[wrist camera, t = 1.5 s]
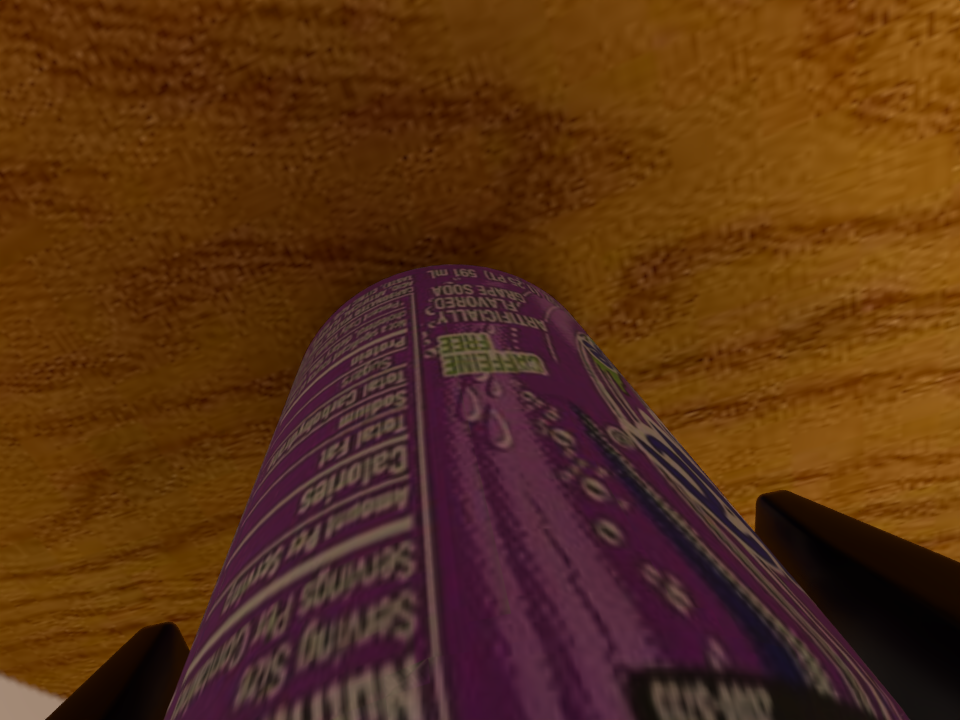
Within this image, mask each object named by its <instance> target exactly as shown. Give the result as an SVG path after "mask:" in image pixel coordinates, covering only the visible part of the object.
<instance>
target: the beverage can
mask: <svg viewBox="0 0 960 720" xmlns="http://www.w3.org/2000/svg"><path fill="white" fill-rule="evenodd" d="M164 720H910V719H909V718H908V716H907V715H906V713H905V712H904V711H903V709H902V708H901V707H900V705H899V704H898V703H897V702H896V701H895V699H894V698H893V697H892V696H891V694H890V693H889V692H888V691H887V690H886V688H885V687H884V686H883V685H882V684H881V682H880V681H879V680H878V679H877V677H876V676H875V675H874V674H873V673H872V671H871V670H870V669H869V668H868V667H867V665H866V664H865V663H864V662H863V660H862V659H861V658H860V657H859V656H858V654H857V653H856V652H855V651H854V650H853V648H852V647H851V646H850V645H849V643H848V642H847V641H846V640H845V639H844V638H843V636H842V635H841V634H840V633H839V632H838V630H837V629H836V628H835V627H834V626H833V625H832V623H831V622H830V621H829V620H828V619H827V617H826V616H825V615H824V614H823V613H822V611H821V610H820V609H819V608H818V607H817V606H816V604H815V603H814V602H813V601H812V600H811V598H810V597H809V596H808V595H807V594H806V593H805V591H804V590H803V589H802V588H801V587H800V585H799V584H798V583H797V582H796V581H795V579H794V578H793V577H792V576H791V575H790V574H789V572H788V571H787V570H786V569H785V568H784V566H783V565H782V564H781V563H780V562H779V561H778V559H777V558H776V557H775V556H774V555H773V553H772V552H771V551H770V550H769V549H768V548H767V546H766V545H765V544H764V543H763V542H762V540H761V539H760V538H759V537H758V536H757V534H756V533H755V532H754V531H753V530H752V529H751V527H750V526H749V525H748V524H747V523H746V521H745V520H744V519H743V518H742V517H741V516H740V514H739V513H738V512H737V511H736V510H735V508H734V507H733V506H732V505H731V504H730V502H729V501H728V500H727V499H726V498H725V497H724V495H723V494H722V493H721V492H720V491H719V489H718V488H717V487H716V486H715V485H714V484H713V482H712V481H711V480H710V479H709V478H708V476H707V475H706V474H705V473H704V472H703V471H702V469H701V468H700V467H699V466H698V465H697V463H696V462H695V461H694V460H693V459H692V457H691V456H690V455H689V454H688V453H687V452H686V450H685V449H684V448H683V447H682V446H681V444H680V443H679V442H678V441H677V440H676V439H675V437H674V436H673V435H672V434H671V433H670V431H669V430H668V429H667V428H666V427H665V425H664V424H663V423H662V422H661V421H660V420H659V418H658V417H657V416H656V415H655V414H654V412H653V411H652V410H651V409H650V408H649V407H648V405H647V404H646V403H645V402H644V401H643V399H642V398H641V397H640V396H639V395H638V394H637V392H636V391H635V390H634V389H633V388H632V386H631V385H630V384H629V383H628V382H627V380H626V379H625V378H624V377H623V376H622V375H621V373H620V372H619V371H618V370H617V369H616V367H615V366H614V365H613V364H612V363H611V362H610V360H609V359H608V358H607V357H606V356H605V354H604V353H603V352H602V351H601V350H600V348H599V347H598V346H597V345H596V344H595V343H594V341H593V340H592V339H591V338H590V337H589V335H588V334H587V333H586V332H585V331H584V330H583V328H582V327H581V326H580V325H579V324H578V322H577V321H576V320H575V319H574V318H573V317H572V315H571V314H570V313H569V312H568V311H567V310H566V309H565V308H564V307H563V306H562V305H561V304H560V303H559V302H558V301H556V300H555V299H554V298H553V297H551V296H550V295H549V294H547V293H546V292H545V291H543V290H542V289H540V288H538V287H537V286H535V285H533V284H531V283H530V282H528V281H526V280H524V279H521V278H519V277H517V276H514V275H512V274H509V273H506V272H502V271H499V270H495V269H491V268H487V267H480V266H473V265H436V266H428V267H422V268H417V269H413V270H409V271H405V272H402V273H399V274H396V275H393V276H391V277H388V278H386V279H383V280H381V281H379V282H377V283H375V284H373V285H371V286H369V287H368V288H366V289H364V290H363V291H361V292H360V293H358V294H357V295H355V296H354V297H352V298H351V299H350V300H348V301H347V302H346V303H345V304H344V305H342V306H341V307H340V308H339V309H338V310H337V311H336V312H335V313H334V314H333V315H332V316H331V317H330V318H329V319H328V320H327V321H326V323H325V324H324V325H323V326H322V327H321V329H320V330H319V331H318V333H317V334H316V336H315V337H314V339H313V340H312V342H311V344H310V346H309V347H308V349H307V351H306V353H305V355H304V358H303V360H302V362H301V365H300V367H299V370H298V373H297V375H296V378H295V380H294V383H293V386H292V388H291V391H290V393H289V396H288V399H287V401H286V404H285V406H284V409H283V411H282V414H281V417H280V419H279V422H278V424H277V427H276V430H275V432H274V435H273V437H272V440H271V443H270V445H269V448H268V450H267V453H266V456H265V458H264V461H263V463H262V466H261V469H260V471H259V474H258V476H257V479H256V482H255V484H254V487H253V489H252V492H251V495H250V497H249V500H248V502H247V505H246V508H245V510H244V513H243V515H242V518H241V521H240V523H239V526H238V528H237V531H236V533H235V536H234V539H233V541H232V544H231V546H230V549H229V552H228V554H227V557H226V559H225V562H224V565H223V567H222V570H221V572H220V575H219V578H218V580H217V583H216V585H215V588H214V591H213V593H212V596H211V598H210V601H209V604H208V606H207V609H206V611H205V614H204V617H203V619H202V622H201V624H200V627H199V630H198V632H197V635H196V637H195V640H194V643H193V645H192V648H191V650H190V653H189V655H188V658H187V661H186V663H185V666H184V668H183V671H182V674H181V676H180V679H179V681H178V684H177V687H176V689H175V692H174V694H173V697H172V700H171V702H170V705H169V707H168V710H167V713H166V715H165V718H164Z"/></svg>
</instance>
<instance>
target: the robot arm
mask: <svg viewBox="0 0 960 720" xmlns="http://www.w3.org/2000/svg"><path fill="white" fill-rule="evenodd" d="M755 533H756V534H757V536H758V537H759V538H760V539H761V540H762V542H763V543H764V544H765V545H766V546H767V548H768V549H769V550H770V551H771V552H772V553H773V555H774V556H775V557H776V558H777V559H778V561H779V562H780V563H781V564H782V565H783V566H784V568H785V569H786V570H787V571H788V572H789V574H790V575H791V576H792V577H793V578H794V579H795V581H796V582H797V583H798V584H799V585H800V587H801V588H802V589H803V590H804V591H805V593H806V594H807V595H808V596H809V597H810V598H811V600H812V601H813V602H814V603H815V604H816V606H817V607H818V608H819V609H820V610H821V611H822V613H823V614H824V615H825V616H826V617H827V619H828V620H829V621H830V622H831V623H832V625H833V626H834V627H835V628H836V629H837V630H838V632H839V633H840V634H841V635H842V636H843V638H844V639H845V640H846V641H847V642H848V643H849V645H850V646H851V647H852V648H853V650H854V651H855V652H856V653H857V654H858V656H859V657H860V658H861V659H862V660H863V662H864V663H865V664H866V665H867V667H868V668H869V669H870V670H871V671H872V673H873V674H874V675H875V676H876V677H877V679H878V680H879V681H880V682H881V684H882V685H883V686H884V687H885V688H886V690H887V691H888V692H889V693H890V694H891V696H892V697H893V698H894V699H895V701H896V702H897V703H898V704H899V705H900V707H901V708H902V709H903V711H904V712H905V713H906V715H907V716H908V718H909V719H910V720H960V562H957V561H955V560H952V559H950V558H948V557H945V556H943V555H940V554H938V553H936V552H933V551H931V550H928V549H926V548H924V547H921V546H919V545H916V544H914V543H912V542H909V541H907V540H904V539H902V538H900V537H897V536H895V535H893V534H890V533H888V532H885V531H883V530H881V529H878V528H876V527H873V526H871V525H869V524H866V523H864V522H861V521H859V520H857V519H854V518H852V517H849V516H847V515H845V514H842V513H840V512H837V511H835V510H833V509H830V508H828V507H825V506H823V505H821V504H818V503H816V502H813V501H811V500H809V499H806V498H804V497H801V496H799V495H797V494H794V493H792V492H789V491H786V490H779V491H774V492H770V493H765V494H762V495H760V496H759V497H758V498H757V501H756V517H755ZM189 653H190V650H189V648H188V646H187V644H186V642H185V640H184V638H183V636H182V634H181V632H180V630H179V628H178V627H177V625H176V624H174V623H173V622H164V623H160V624H155V625H150V626H147V627H144V628H142V629H141V630H139V631H138V632H137V633H136V634H135V635H134V636H133V637H132V638H131V639H130V640H129V641H128V642H127V643H126V644H124V645H123V646H122V647H121V648H120V649H119V650H118V651H117V652H116V653H115V654H114V655H113V656H112V657H111V658H110V659H109V660H108V661H107V662H106V663H104V664H103V665H102V666H101V667H100V668H99V669H98V670H97V671H96V672H95V673H94V674H93V675H92V676H91V677H90V678H89V679H88V680H87V681H85V682H84V683H83V684H82V685H81V686H80V687H79V688H78V689H77V690H76V691H75V692H74V693H73V694H72V695H71V696H70V697H69V698H68V699H66V700H65V701H64V702H63V703H62V704H61V705H60V706H59V707H58V708H57V709H56V710H55V711H54V712H53V713H52V714H51V715H50V716H49V717H47V718H46V719H45V720H164V718H165V715H166V713H167V710H168V707H169V705H170V702H171V700H172V697H173V694H174V692H175V689H176V687H177V684H178V681H179V679H180V676H181V674H182V671H183V668H184V666H185V663H186V661H187V658H188V655H189Z"/></svg>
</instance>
